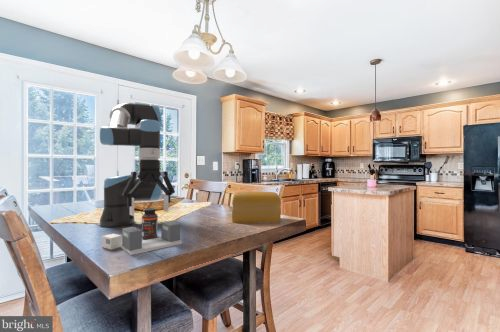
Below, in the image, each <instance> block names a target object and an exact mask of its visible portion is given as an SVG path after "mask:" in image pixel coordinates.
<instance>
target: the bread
mask: <svg viewBox="0 0 500 332" xmlns="http://www.w3.org/2000/svg"><path fill="white" fill-rule="evenodd" d="M280 198H281V197H280V196H279V194H278V193H277V192H273V191H237V192H235V193H233V194H232V201H231V202H232V203H231V204H232V210H231V211H232V213H231V221H232V222H231V223H233V224H238V223H239V224H257V223H256V222H280V223H281V216H282V215H281V199H280Z"/></svg>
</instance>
